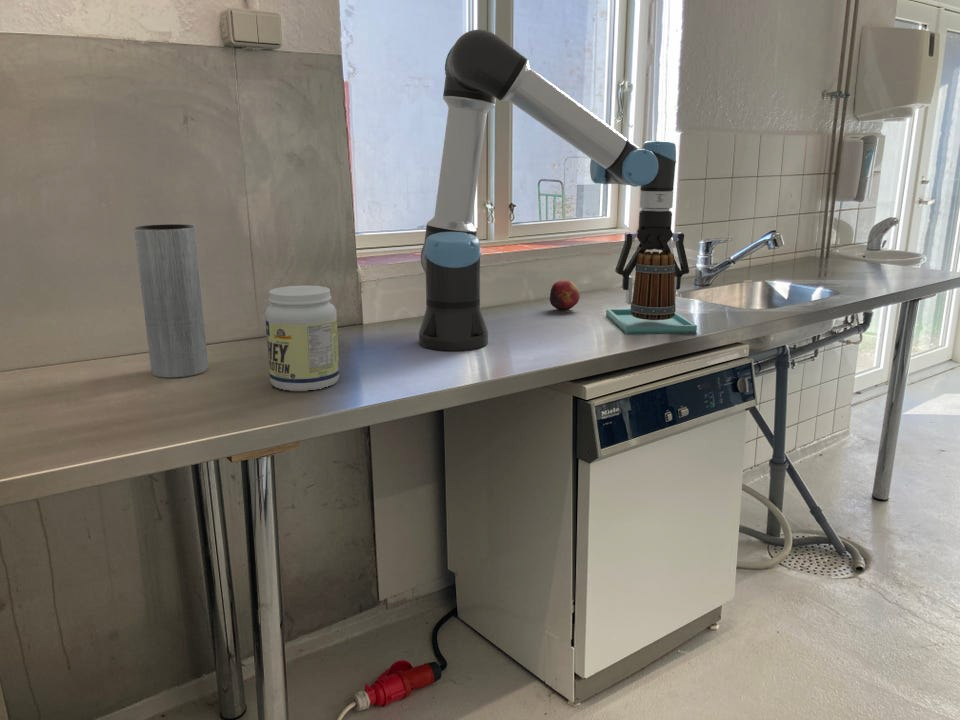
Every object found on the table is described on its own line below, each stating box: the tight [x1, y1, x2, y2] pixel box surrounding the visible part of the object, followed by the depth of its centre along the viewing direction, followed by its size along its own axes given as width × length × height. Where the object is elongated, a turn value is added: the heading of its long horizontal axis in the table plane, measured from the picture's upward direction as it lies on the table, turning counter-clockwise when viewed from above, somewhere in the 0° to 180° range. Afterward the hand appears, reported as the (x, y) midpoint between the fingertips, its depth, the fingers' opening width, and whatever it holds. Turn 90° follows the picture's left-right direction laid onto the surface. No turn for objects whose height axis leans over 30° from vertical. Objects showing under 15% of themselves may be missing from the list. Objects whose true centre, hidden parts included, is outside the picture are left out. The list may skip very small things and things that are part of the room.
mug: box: [629, 250, 677, 320], centre depth 178 cm, size 16×11×15 cm
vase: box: [133, 223, 209, 379], centre depth 136 cm, size 10×10×27 cm
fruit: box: [549, 280, 581, 312], centre depth 196 cm, size 8×8×8 cm
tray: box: [605, 308, 698, 335], centre depth 180 cm, size 17×21×2 cm
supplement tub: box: [264, 284, 340, 392], centre depth 130 cm, size 12×12×17 cm
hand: (650, 303), depth 179 cm, fingers closed on mug, 10 cm apart
